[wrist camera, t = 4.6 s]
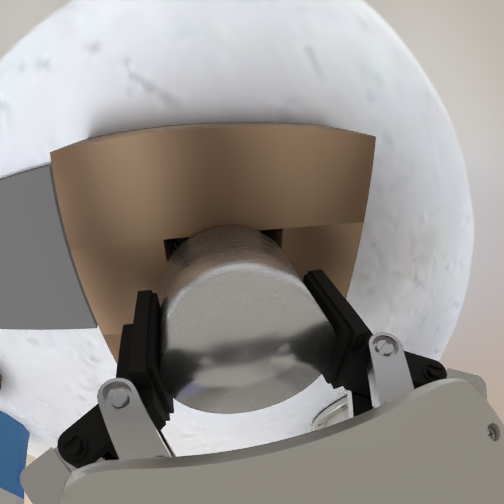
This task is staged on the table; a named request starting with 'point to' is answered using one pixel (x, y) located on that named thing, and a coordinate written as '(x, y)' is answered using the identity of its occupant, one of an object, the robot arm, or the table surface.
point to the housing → (207, 201)
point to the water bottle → (12, 459)
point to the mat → (37, 258)
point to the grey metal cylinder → (238, 324)
